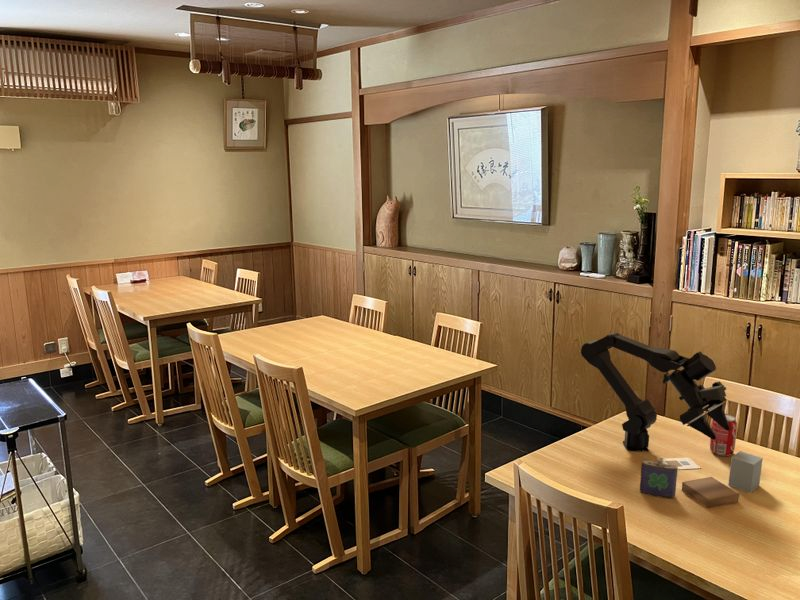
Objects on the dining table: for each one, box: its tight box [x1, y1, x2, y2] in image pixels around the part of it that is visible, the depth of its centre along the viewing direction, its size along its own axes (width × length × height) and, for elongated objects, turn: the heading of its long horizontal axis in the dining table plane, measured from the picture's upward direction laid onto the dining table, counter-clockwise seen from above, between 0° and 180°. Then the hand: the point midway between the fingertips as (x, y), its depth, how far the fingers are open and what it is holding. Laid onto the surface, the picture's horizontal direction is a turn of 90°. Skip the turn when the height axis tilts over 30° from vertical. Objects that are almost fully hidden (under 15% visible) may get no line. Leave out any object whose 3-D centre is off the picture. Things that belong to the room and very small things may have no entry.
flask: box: [639, 457, 678, 499], centre depth 179 cm, size 9×3×11 cm, turn 68°
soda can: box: [709, 413, 738, 457], centre depth 204 cm, size 7×7×12 cm
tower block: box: [727, 450, 764, 494], centre depth 184 cm, size 6×6×8 cm
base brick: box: [681, 476, 740, 509], centre depth 178 cm, size 10×10×3 cm
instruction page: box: [657, 457, 701, 470], centre depth 197 cm, size 10×7×1 cm
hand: (722, 434), depth 187 cm, fingers open, 9 cm apart
